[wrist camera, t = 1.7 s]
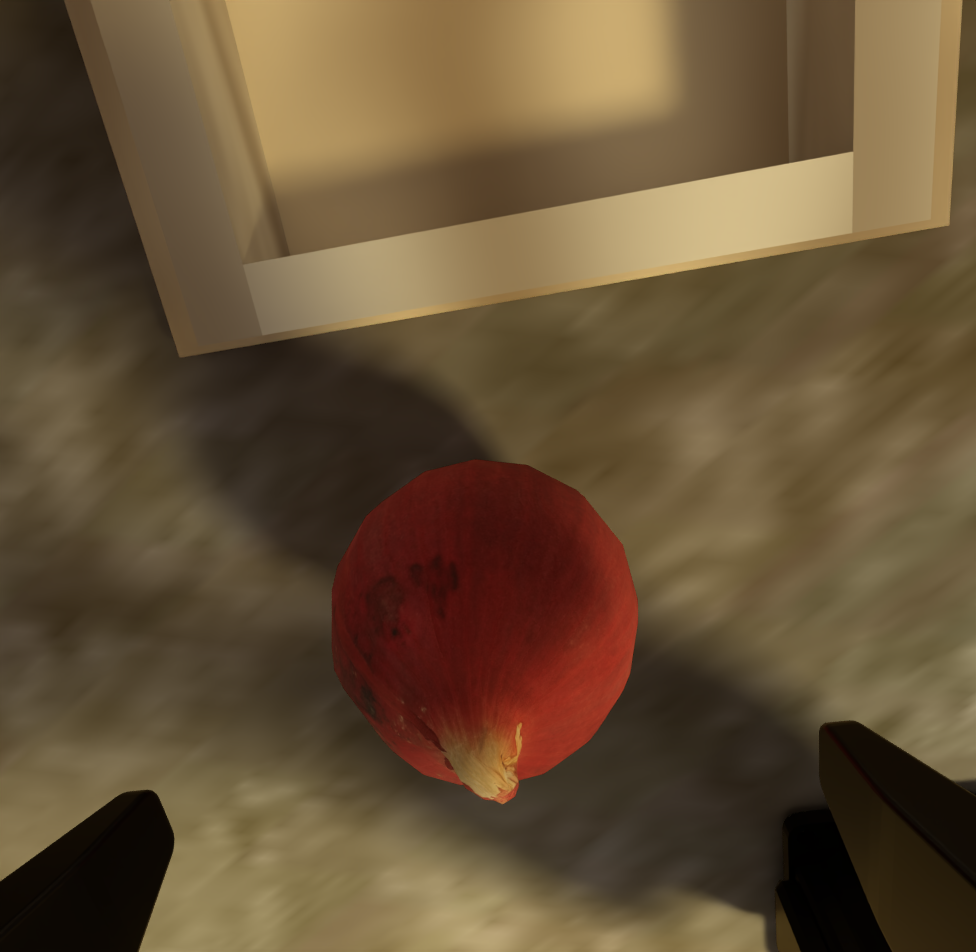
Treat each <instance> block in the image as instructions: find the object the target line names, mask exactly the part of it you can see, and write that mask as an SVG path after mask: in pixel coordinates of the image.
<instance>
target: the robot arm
mask: <svg viewBox="0 0 976 952" xmlns="http://www.w3.org/2000/svg"><path fill="white" fill-rule="evenodd" d="M819 777H820V783H821V787H822V790H823V793H824V796H825V798H826V801H827V803H828V806H829V808H830V810H818V811H807V812H799V813H794V814H792V815H790V816H789V817H787V818H786V820H785V821H784V823H783V827H782V830H783V866H784V880H780V881H779V883H778V884H777V886H776V888H775V909H776V939H777V948H778V951H779V952H976V796H975V795H974V794H972V793H971V792H969V791H967V790H966V789H964V788H963V787H961V786H959V785H958V784H956V783H955V782H953V781H952V780H950V779H948V778H947V777H945V776H944V775H942V774H940V773H939V772H937V771H936V770H934V769H932V768H931V767H929V766H928V765H926V764H924V763H923V762H921V761H920V760H918V759H916V758H915V757H913V756H912V755H910V754H909V753H907V752H905V751H904V750H902V749H901V748H899V747H897V746H896V745H894V744H893V743H891V742H889V741H888V740H886V739H885V738H883V737H881V736H880V735H878V734H877V733H875V732H874V731H872V730H870V729H869V728H867V727H866V726H864V725H862V724H861V723H859V722H856V721H850V720H849V721H839V722H829V723H824V724H823V725H822V726H821V727H820V731H819ZM803 831H804V832H803ZM173 849H174V833H173V830H172V827H171V825H170V823H169V820H168V818H167V816H166V813H165V811H164V808H163V806H162V804H161V801H160V799H159V797H158V795H157V794H156V793H155V792H154V791H152V790H140V791H130V792H125V793H122V794H120V795H119V796H117V797H116V798H114V799H113V800H112V801H110V802H109V803H107V804H106V805H105V806H103V807H102V808H101V809H99V810H98V811H96V812H95V813H94V814H92V815H91V816H90V817H88V818H87V819H85V820H84V821H83V822H81V823H80V824H79V825H77V826H76V827H74V828H73V829H72V830H70V831H69V832H68V833H66V834H65V835H63V836H62V837H61V838H59V839H58V840H57V841H55V842H54V843H52V844H51V845H50V846H48V847H47V848H46V849H44V850H43V851H41V852H40V853H39V854H37V855H36V856H35V857H33V858H32V859H30V860H29V861H28V862H26V863H25V864H24V865H22V866H21V867H19V868H18V869H17V870H15V871H14V872H13V873H11V874H10V875H9V876H7V877H6V878H4V879H3V880H2V881H0V952H139V949H140V946H141V943H142V940H143V937H144V934H145V931H146V929H147V926H148V923H149V920H150V917H151V914H152V911H153V908H154V905H155V903H156V900H157V897H158V894H159V891H160V888H161V885H162V882H163V879H164V877H165V874H166V871H167V868H168V865H169V862H170V859H171V856H172V853H173Z"/></svg>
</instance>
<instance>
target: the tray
mask: <svg viewBox="0 0 976 952" xmlns="http://www.w3.org/2000/svg"><path fill="white" fill-rule="evenodd" d="M64 2H65V5H66V8H67V11H68V14H69V17H70V21H71V24H72V27H73V30H74V33H75V36H76V39H77V42H78V45H79V48H80V51H81V55H82V58H83V61H84V64H85V67H86V70H87V73H88V76H89V79H90V82H91V85H92V89H93V92H94V95H95V98H96V101H97V104H98V107H99V110H100V113H101V116H102V119H103V123H104V126H105V129H106V132H107V135H108V138H109V141H110V144H111V147H112V150H113V153H114V157H115V160H116V163H117V166H118V169H119V172H120V175H121V178H122V181H123V184H124V187H125V191H126V194H127V197H128V200H129V203H130V206H131V209H132V212H133V215H134V218H135V221H136V225H137V228H138V231H139V234H140V237H141V240H142V243H143V246H144V249H145V252H146V255H147V259H148V262H149V265H150V268H151V271H152V274H153V277H154V280H155V283H156V286H157V289H158V293H159V296H160V299H161V302H162V305H163V308H164V311H165V314H166V317H167V320H168V323H169V327H170V330H171V333H172V336H173V339H174V342H175V345H176V348H177V351H178V354H179V357H180V358H181V357H187V356H193V355H199V354H204V353H210V352H216V351H222V350H228V349H233V348H239V347H245V346H251V345H257V344H262V343H268V342H274V341H280V340H286V339H291V338H297V337H303V336H309V335H315V334H320V333H326V332H332V331H338V330H344V329H349V328H355V327H361V326H367V325H373V324H378V323H384V322H390V321H396V320H402V319H408V318H413V317H419V316H425V315H431V314H437V313H442V312H448V311H454V310H460V309H466V308H471V307H477V306H483V305H489V304H495V303H500V302H506V301H512V300H518V299H524V298H529V297H535V296H541V295H547V294H553V293H558V292H564V291H570V290H576V289H582V288H587V287H593V286H599V285H605V284H611V283H617V282H622V281H628V280H634V279H640V278H646V277H651V276H657V275H663V274H669V273H675V272H680V271H686V270H692V269H698V268H704V267H709V266H715V265H721V264H727V263H733V262H738V261H744V260H750V259H756V258H762V257H767V256H773V255H779V254H785V253H791V252H796V251H802V250H808V249H814V248H820V247H826V246H831V245H837V244H843V243H849V242H855V241H860V240H866V239H872V238H878V237H884V236H889V235H895V234H901V233H907V232H913V231H918V230H924V229H930V228H936V227H942V226H947V225H949V220H950V203H951V186H952V169H953V151H954V134H955V117H956V100H957V83H958V66H959V49H960V32H961V15H962V0H64Z"/></svg>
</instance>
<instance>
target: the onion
mask: <svg viewBox="0 0 976 952" xmlns="http://www.w3.org/2000/svg"><path fill="white" fill-rule="evenodd" d="M637 624H638V599H637V595H636V592H635V588H634V584H633V581H632V577H631V573H630V570H629V566H628V562H627V559H626V555H625V551H624V548H623V545H622V543H621V542H620V541H619V540H618V538H617V537H616V536H615V535H614V533H613V532H612V531H611V530H610V528H609V527H608V526H607V525H606V523H605V522H604V521H603V520H602V518H601V517H600V516H599V515H598V513H597V512H596V511H595V510H594V508H593V507H592V506H591V505H590V503H589V502H588V501H587V500H586V498H585V497H584V496H583V495H581V494H580V493H579V492H578V491H577V490H575V489H573V488H571V487H569V486H567V485H565V484H563V483H562V482H560V481H558V480H556V479H554V478H552V477H550V476H548V475H546V474H544V473H542V472H540V471H538V470H536V469H534V468H532V467H530V466H528V465H522V464H513V463H504V462H495V461H486V460H477V459H474V460H470V461H466V462H462V463H458V464H454V465H450V466H445V467H441V468H437V469H433V470H429V471H425V472H423V473H422V474H420V475H419V476H418V477H416V478H415V479H413V480H412V481H410V482H409V483H408V484H406V485H405V486H403V487H402V488H401V489H399V490H398V491H396V492H395V493H394V494H392V495H391V496H389V497H388V498H387V499H385V500H384V501H382V502H381V503H380V504H379V505H378V506H377V507H376V508H374V509H373V510H372V511H371V512H370V513H369V514H368V515H367V516H366V517H365V519H364V521H363V522H362V524H361V526H360V528H359V529H358V531H357V533H356V535H355V537H354V538H353V540H352V542H351V544H350V545H349V547H348V549H347V551H346V552H345V554H344V556H343V558H342V560H341V561H340V563H339V565H338V567H337V571H336V575H335V579H334V583H333V587H332V653H333V662H334V670H335V672H336V674H337V676H338V678H339V680H340V682H341V684H342V686H343V688H344V690H345V691H346V693H347V694H348V695H349V697H350V698H351V699H352V700H353V702H354V703H355V704H356V706H357V707H358V708H359V710H360V711H361V712H362V714H363V715H364V716H365V718H366V719H367V720H368V722H369V723H370V724H371V726H372V727H373V728H374V730H375V731H376V732H377V734H378V735H379V736H380V737H381V739H382V740H383V741H384V742H385V743H386V744H387V745H388V746H389V747H390V749H391V750H392V751H393V752H394V753H396V754H397V755H398V756H400V757H401V758H402V759H404V760H405V761H406V762H408V763H409V764H410V765H411V766H413V767H414V768H415V769H417V770H418V771H419V772H421V773H422V774H423V775H427V776H430V777H434V778H437V779H441V780H444V781H448V782H451V783H455V784H459V785H464V786H465V788H466V789H468V790H470V791H471V792H473V793H475V794H476V795H478V796H479V797H481V798H482V799H484V800H494V801H497V802H499V803H501V804H504V803H506V802H507V801H509V800H510V799H512V798H513V797H515V795H516V792H517V789H518V786H519V781H518V780H522V779H526V778H530V777H534V776H537V775H541V774H544V773H546V772H547V771H549V770H550V769H552V768H553V767H554V766H556V765H557V764H559V763H560V762H561V761H563V760H564V759H565V758H567V757H568V756H570V755H571V754H572V753H574V752H575V751H576V750H578V749H579V748H580V747H582V746H583V745H585V744H586V743H587V742H588V741H589V740H590V739H591V738H592V737H593V735H594V734H595V733H596V732H597V730H598V729H599V727H600V726H601V724H602V723H603V721H604V719H605V718H606V716H607V715H608V713H609V712H610V710H611V709H612V707H613V706H614V704H615V702H616V701H617V699H618V698H619V696H620V695H621V693H622V692H623V690H624V687H625V685H626V682H627V680H628V677H629V675H630V671H631V665H632V658H633V651H634V644H635V638H636V631H637Z"/></svg>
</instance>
